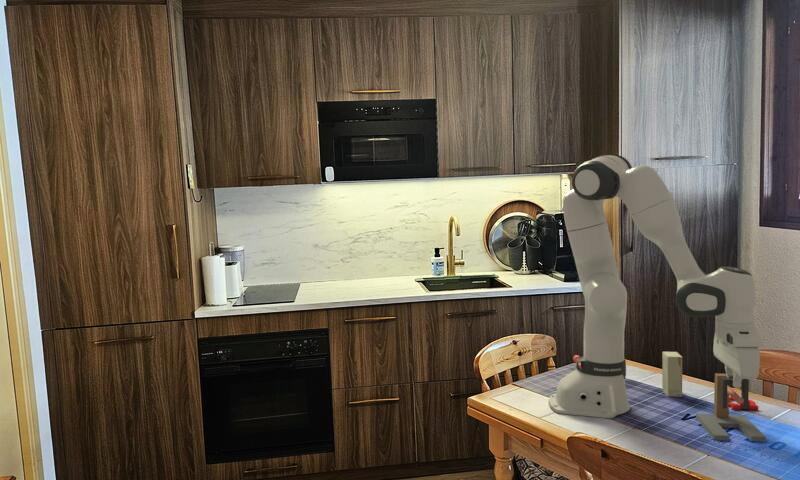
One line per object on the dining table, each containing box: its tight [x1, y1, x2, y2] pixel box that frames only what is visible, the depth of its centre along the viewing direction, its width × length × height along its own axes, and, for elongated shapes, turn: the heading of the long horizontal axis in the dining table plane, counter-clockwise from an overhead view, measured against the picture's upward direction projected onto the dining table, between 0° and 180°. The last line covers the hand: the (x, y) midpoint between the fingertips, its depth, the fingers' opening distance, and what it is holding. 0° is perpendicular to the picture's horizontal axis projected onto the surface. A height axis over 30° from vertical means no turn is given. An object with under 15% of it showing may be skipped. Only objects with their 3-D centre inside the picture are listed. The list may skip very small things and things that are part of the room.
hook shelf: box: [695, 372, 767, 442], centre depth 157 cm, size 12×14×13 cm
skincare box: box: [661, 351, 683, 398], centre depth 184 cm, size 6×4×12 cm
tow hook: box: [729, 396, 759, 411], centre depth 174 cm, size 8×13×9 cm
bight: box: [720, 377, 750, 409], centre depth 155 cm, size 6×2×8 cm, turn 81°
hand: (733, 384), depth 155 cm, fingers closed on bight, 2 cm apart
